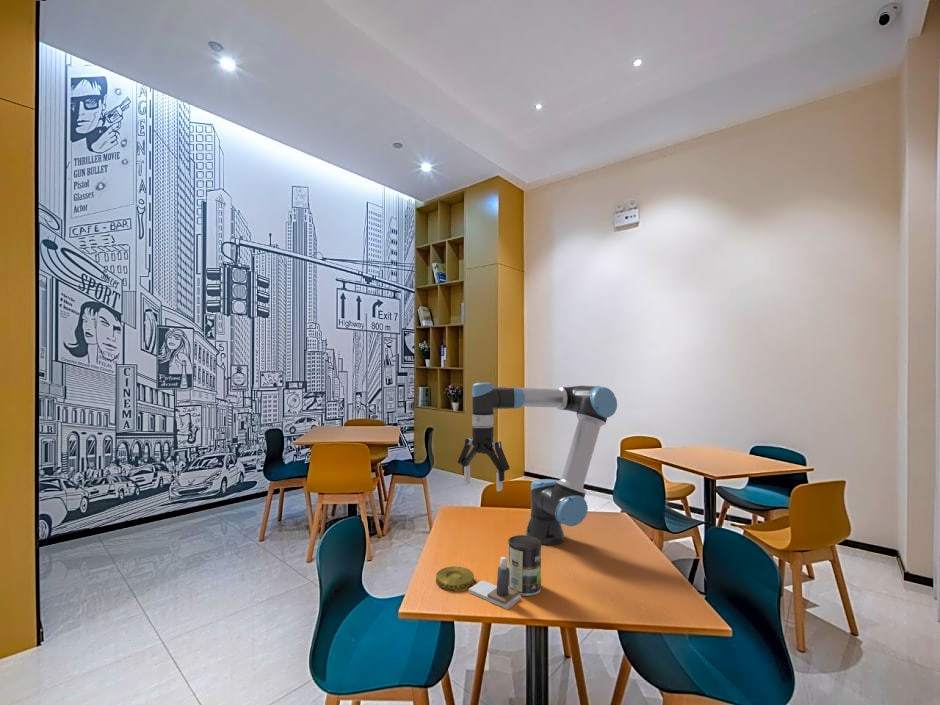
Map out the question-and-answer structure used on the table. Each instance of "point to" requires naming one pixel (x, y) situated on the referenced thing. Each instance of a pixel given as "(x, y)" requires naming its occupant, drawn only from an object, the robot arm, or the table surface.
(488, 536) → the table surface
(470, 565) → the table surface
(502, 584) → the grey white-capped bottle
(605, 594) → the table surface
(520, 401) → the robot arm
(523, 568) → the coffee can
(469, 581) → the olive gold disc
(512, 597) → the white and brown box
